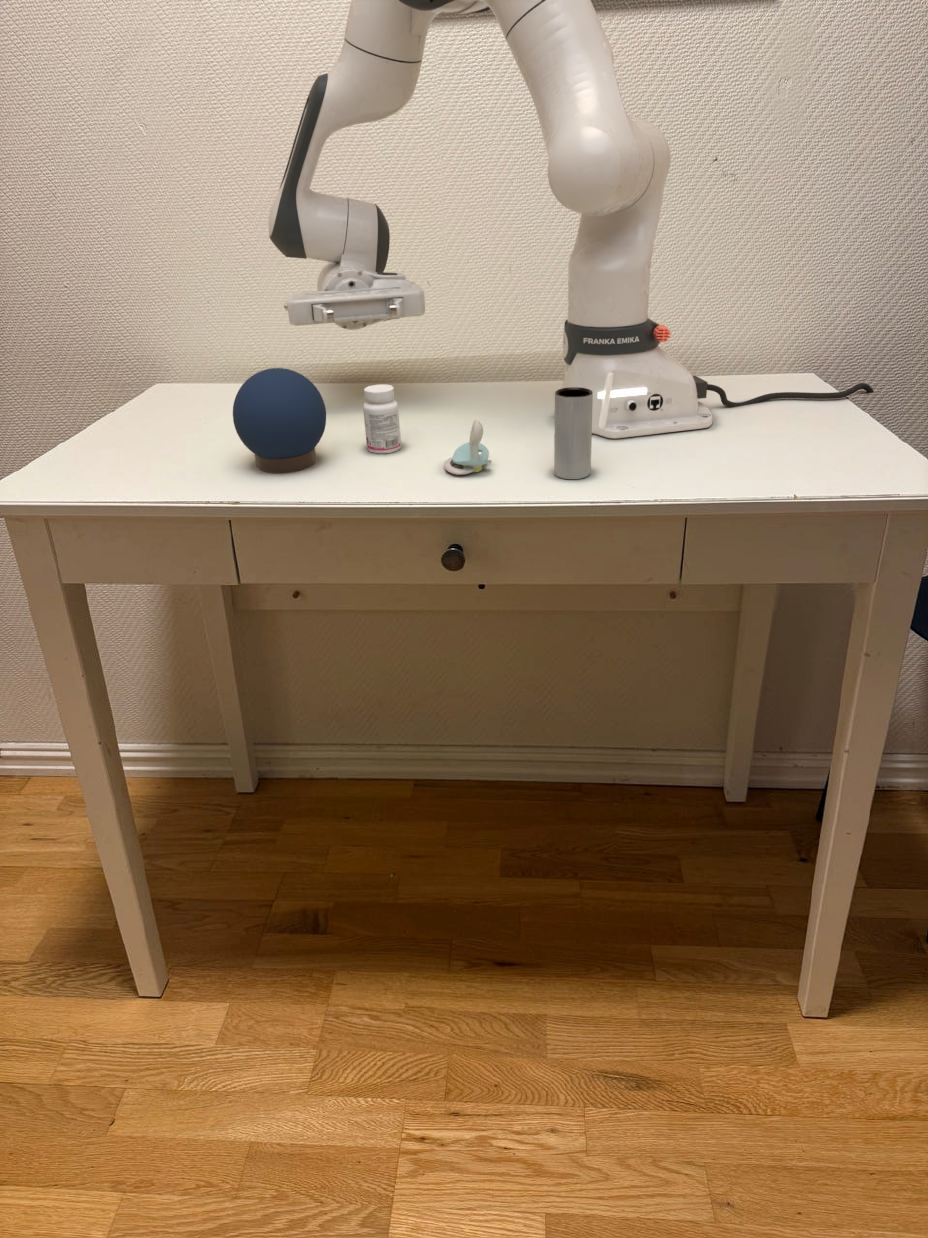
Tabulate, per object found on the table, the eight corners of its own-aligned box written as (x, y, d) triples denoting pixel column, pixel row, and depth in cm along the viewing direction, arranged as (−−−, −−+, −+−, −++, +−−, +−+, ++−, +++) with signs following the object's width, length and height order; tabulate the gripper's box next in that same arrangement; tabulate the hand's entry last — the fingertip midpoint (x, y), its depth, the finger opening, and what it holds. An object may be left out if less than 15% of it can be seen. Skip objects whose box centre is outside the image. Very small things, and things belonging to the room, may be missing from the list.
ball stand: (319, 452, 126) (317, 438, 125) (313, 471, 119) (311, 456, 118) (261, 455, 126) (258, 441, 125) (252, 474, 119) (249, 460, 118)
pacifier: (445, 480, 114) (493, 476, 114) (441, 432, 111) (490, 427, 111) (443, 461, 121) (488, 457, 121) (439, 415, 118) (485, 411, 118)
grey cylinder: (588, 480, 112) (591, 397, 107) (552, 479, 113) (552, 396, 108) (591, 468, 116) (594, 387, 111) (556, 466, 117) (557, 386, 112)
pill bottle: (370, 443, 128) (365, 383, 124) (404, 443, 128) (399, 382, 124) (364, 454, 124) (358, 392, 120) (398, 454, 124) (393, 392, 120)
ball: (334, 443, 127) (324, 356, 122) (327, 472, 117) (316, 378, 111) (248, 447, 127) (234, 360, 121) (233, 477, 116) (217, 383, 111)
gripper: (280, 281, 137) (285, 296, 125) (413, 272, 141) (430, 285, 129) (285, 324, 140) (291, 343, 128) (416, 314, 144) (433, 331, 132)
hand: (362, 314), depth 129 cm, fingers open, 8 cm apart
